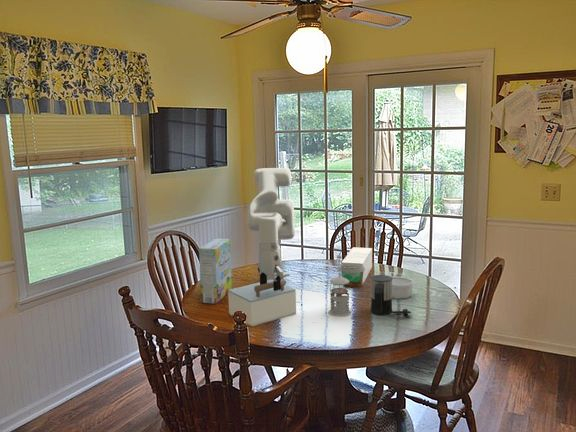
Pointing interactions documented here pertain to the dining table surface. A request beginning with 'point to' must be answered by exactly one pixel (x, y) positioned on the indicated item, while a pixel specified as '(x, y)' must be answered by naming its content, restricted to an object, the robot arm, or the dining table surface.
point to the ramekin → (401, 287)
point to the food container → (353, 276)
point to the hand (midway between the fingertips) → (270, 287)
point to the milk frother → (382, 295)
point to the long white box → (359, 260)
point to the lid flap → (260, 291)
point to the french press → (339, 297)
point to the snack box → (215, 270)
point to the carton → (264, 307)
